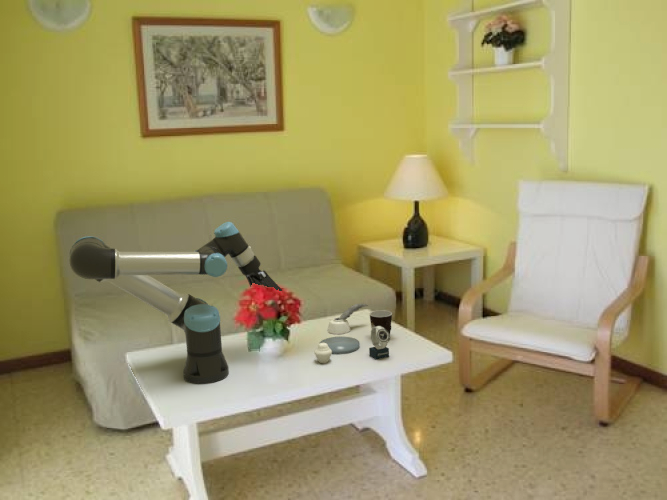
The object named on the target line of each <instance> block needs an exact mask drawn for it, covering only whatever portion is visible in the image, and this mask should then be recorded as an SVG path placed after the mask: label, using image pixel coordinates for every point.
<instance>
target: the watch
mask: <svg viewBox="0 0 667 500" xmlns="http://www.w3.org/2000/svg"><path fill="white" fill-rule="evenodd" d="M389 335H390V336H391V333H390V334H389V333H388V332H387V330H385V329H384V328H383V327H381V326H377V327H373V328H371V331H370V340H371V343H372V345H373V347H369V350H368V352H369V354H368V355H369V357H370V358H372V359H373V360H375V361H377V360H382V359H385V358H390V348H389V347H387V345H388V344H389V340H390V339H389ZM388 339H389V340H388Z"/></svg>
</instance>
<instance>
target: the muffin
mask: <svg viewBox="0 0 667 500" xmlns="http://www.w3.org/2000/svg"><path fill="white" fill-rule="evenodd" d="M319 343H320V342H319ZM314 355H315V358H316V359H317V361H318V362H319V363H320V364H327V363H328V362H329V360H330V359H331V357H332V355H333V354H332V350H331V349H330V348H329V347H328V345H327V344H326V343H320V344H318V345H317V348H316V349H315V350H314Z"/></svg>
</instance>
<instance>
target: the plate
mask: <svg viewBox="0 0 667 500" xmlns="http://www.w3.org/2000/svg"><path fill="white" fill-rule="evenodd" d="M320 343H326V344H327V345H328V347H329V348H330V349H331V350H332V354H331V355H345V354H350V353H354V352H357V351H358V350H359V349H360V348H361V346H360V340H358V339H357V338H355V337H351V336H331V337H328V338H324V339H321V341H320V342H319V344H320ZM319 344H318V345H319Z"/></svg>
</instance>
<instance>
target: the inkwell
mask: <svg viewBox="0 0 667 500" xmlns="http://www.w3.org/2000/svg"><path fill="white" fill-rule="evenodd" d="M364 307H369V304H366V303H355V304H354V305H352V306H349V307H348V308H347V309H346V310H344V311H343V312H342V313H341V315H340V316H336V317H334V318H332V319H331V320H329V323H328V327H327V333H329V334H331V335H344V334H348V333H349V332H351V326H350V324H349V323H350V322H349V321H348V320H347V319H348V318H350V317H351V315H353V313H354V312H357V311H359V309H362V308H364Z"/></svg>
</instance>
